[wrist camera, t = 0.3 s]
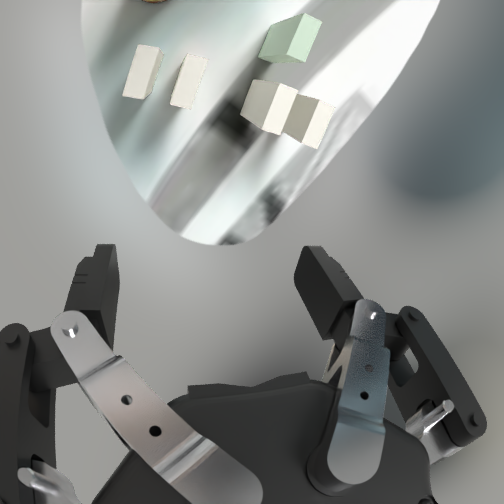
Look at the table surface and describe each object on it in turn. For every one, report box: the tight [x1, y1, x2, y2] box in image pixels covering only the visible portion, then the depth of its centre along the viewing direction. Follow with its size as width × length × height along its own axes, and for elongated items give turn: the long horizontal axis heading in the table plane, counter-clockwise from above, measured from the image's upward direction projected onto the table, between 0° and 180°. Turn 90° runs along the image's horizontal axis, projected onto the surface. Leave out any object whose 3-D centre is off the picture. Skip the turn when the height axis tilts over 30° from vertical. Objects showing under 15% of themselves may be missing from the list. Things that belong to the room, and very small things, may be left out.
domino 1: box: [122, 44, 164, 99], centre depth 24 cm, size 5×2×10 cm, turn 160°
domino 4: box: [240, 79, 298, 135], centre depth 29 cm, size 5×2×10 cm, turn 160°
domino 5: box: [282, 94, 335, 149], centre depth 31 cm, size 5×2×10 cm, turn 159°
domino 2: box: [170, 54, 209, 109], centre depth 26 cm, size 5×2×10 cm, turn 159°
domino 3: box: [258, 13, 322, 63], centre depth 25 cm, size 5×2×10 cm, turn 159°
